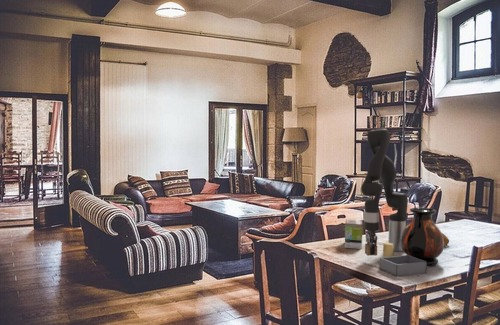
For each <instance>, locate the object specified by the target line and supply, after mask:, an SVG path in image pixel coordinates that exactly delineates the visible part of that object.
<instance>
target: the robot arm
mask: <svg viewBox="0 0 500 325" xmlns="http://www.w3.org/2000/svg"><path fill="white" fill-rule="evenodd" d="M390 136H391V134H390V131H389V130H388V129H387V128H378V129H371V130H369V131H368V132H367V134H366V138H367V143H368V146H369V148H370V151H371V152H372V155H373V156H372V158H371V159H370V160H369V162H368V165H367V166H368V167H367V171H366V172H367V173H366V176H365V178H364V179H363V180H364V181H363V182H362V184H361V187H360V192H361V194H362V195H364V196H371V197H374V198H373V199H368V200H365V201H364V214H363V230H365V242H366V244H370V254H371V255H374V254H375V247H376V246H377V247H378V245H377V244H378V236H377V234H376V232H377V231H379V229H380V214H379V212H380V211H379V210H380V209H379V206H380V199H381V197H382V193H383V192H384V196H385V201H386V204H387V206H388V207H389V208H391V209H397V211H396V212H394V213H391V214H389V215H388V242H387V243H392V244H393V252H404V251H403V250H402V248H401V235H402V232H403V230H404V228H405V227H406V226H407V225H406V221H407V220H406V219H407V214H408V202H409V198H408V195H407V194H406V193H404V192H403V193H402V192H396V191H395V190H394V186H393V184H394V183H395V180H396V177H397V169H396V167H395V166H396V165H395V163H394V161H393V160H392V159H391V158H390V157H389V156H387V155H386V154H387V151H388V148H389V145H390V139H391V137H390ZM379 180H381V182H378V181H379ZM373 244H374V245H373ZM374 256H375V255H374Z"/></svg>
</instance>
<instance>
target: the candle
mask: <svg viewBox="0 0 500 325" xmlns="http://www.w3.org/2000/svg"><path fill="white" fill-rule="evenodd" d="M382 245H383V246H382V247H383V248H382V257H393V256H394V251H393V244H392V243H388V242H384V243H382Z"/></svg>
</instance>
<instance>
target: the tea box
mask: <svg viewBox="0 0 500 325" xmlns="http://www.w3.org/2000/svg"><path fill="white" fill-rule="evenodd" d="M344 227H345V228H344V232H345V233H344V247H345V248H346V249H356V250H357V249H359V250H361V249H362V247H363V245H362V244H363V230H364V223H363V220H361V219H345V226H344Z"/></svg>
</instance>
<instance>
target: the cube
mask: <svg viewBox="0 0 500 325" xmlns="http://www.w3.org/2000/svg"><path fill="white" fill-rule="evenodd" d="M373 245H374V243H373ZM364 254H365V255H366V256H371V257H373V256H378V245H377V246H376V247H375V254H374V255H371V254H370V244H367V243H365V244H364Z"/></svg>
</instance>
